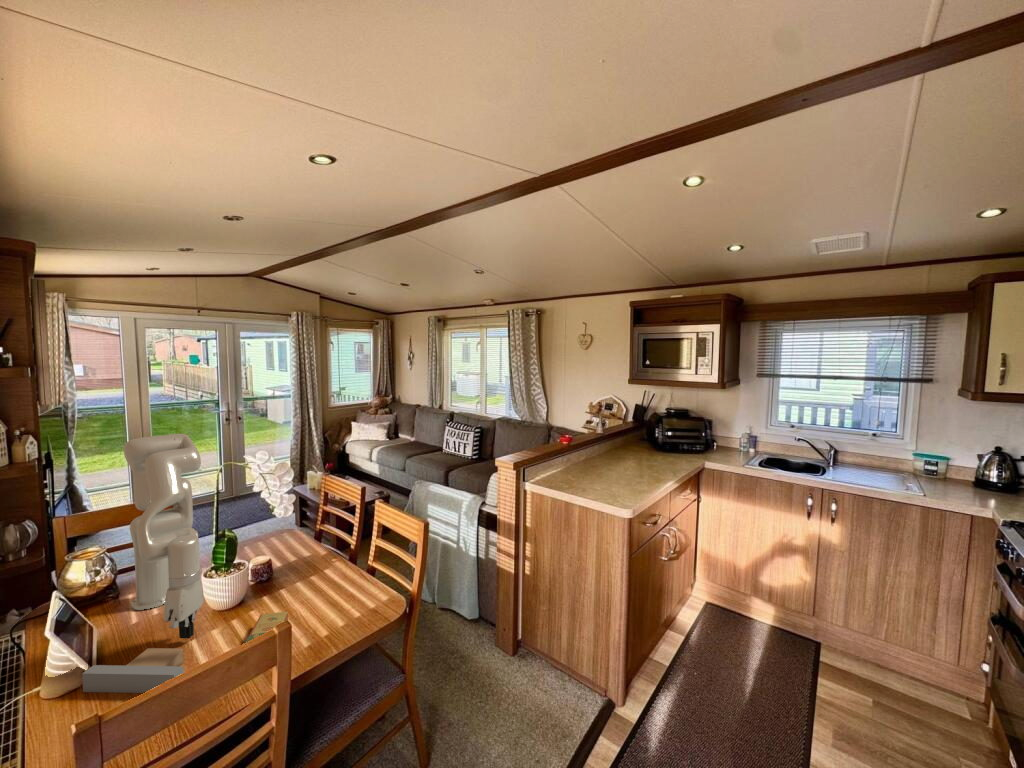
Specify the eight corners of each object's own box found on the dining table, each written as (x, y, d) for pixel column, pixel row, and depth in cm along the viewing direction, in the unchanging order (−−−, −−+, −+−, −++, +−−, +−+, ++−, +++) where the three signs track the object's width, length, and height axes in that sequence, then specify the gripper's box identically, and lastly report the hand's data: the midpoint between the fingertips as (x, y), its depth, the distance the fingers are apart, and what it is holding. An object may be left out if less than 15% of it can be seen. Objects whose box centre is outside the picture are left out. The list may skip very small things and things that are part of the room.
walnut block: (148, 663, 121) (148, 648, 121) (183, 663, 121) (183, 648, 121) (122, 684, 113) (122, 668, 113) (160, 685, 113) (159, 668, 113)
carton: (288, 623, 140) (288, 610, 140) (274, 656, 124) (273, 642, 124) (260, 626, 138) (260, 613, 138) (242, 660, 122) (241, 646, 122)
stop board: (94, 683, 113) (93, 665, 113) (184, 684, 113) (183, 666, 112) (83, 692, 110) (82, 673, 110) (175, 693, 110) (174, 674, 110)
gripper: (191, 565, 136) (193, 621, 137) (151, 591, 121) (153, 653, 122) (214, 566, 136) (216, 621, 137) (177, 592, 121) (179, 654, 122)
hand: (186, 636), depth 129 cm, fingers closed
